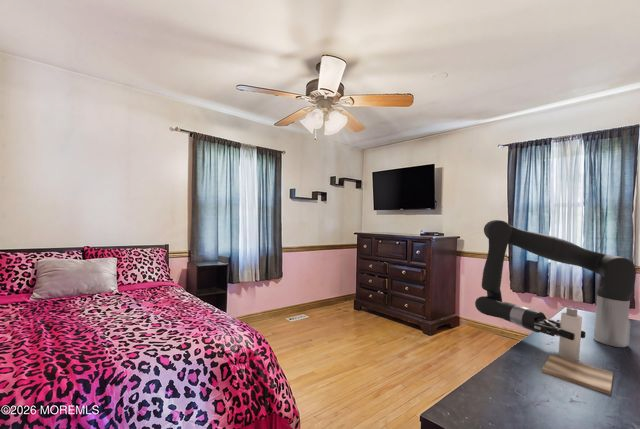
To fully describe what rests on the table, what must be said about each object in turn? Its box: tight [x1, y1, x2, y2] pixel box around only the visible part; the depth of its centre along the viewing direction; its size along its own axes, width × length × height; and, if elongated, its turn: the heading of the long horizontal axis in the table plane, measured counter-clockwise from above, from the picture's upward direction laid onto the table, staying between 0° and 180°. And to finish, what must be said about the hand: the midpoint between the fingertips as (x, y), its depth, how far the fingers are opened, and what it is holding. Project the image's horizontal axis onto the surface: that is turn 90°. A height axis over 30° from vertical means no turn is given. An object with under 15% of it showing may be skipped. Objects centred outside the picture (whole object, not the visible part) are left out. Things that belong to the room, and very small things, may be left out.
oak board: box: [541, 353, 614, 396], centre depth 93 cm, size 15×15×1 cm
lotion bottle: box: [557, 307, 583, 362], centre depth 105 cm, size 5×5×16 cm
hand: (579, 336), depth 102 cm, fingers closed on lotion bottle, 5 cm apart
